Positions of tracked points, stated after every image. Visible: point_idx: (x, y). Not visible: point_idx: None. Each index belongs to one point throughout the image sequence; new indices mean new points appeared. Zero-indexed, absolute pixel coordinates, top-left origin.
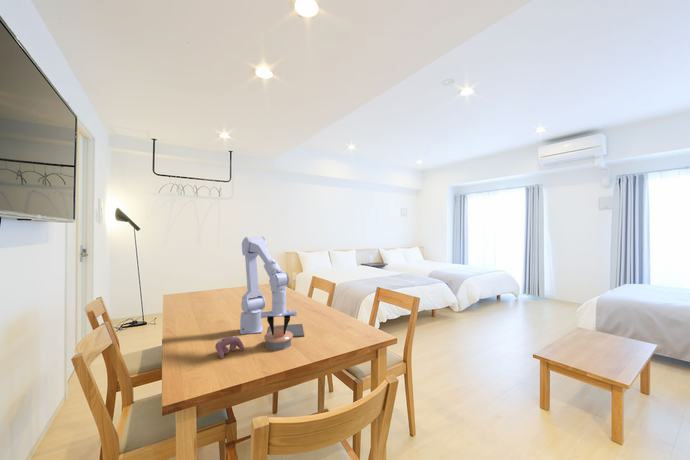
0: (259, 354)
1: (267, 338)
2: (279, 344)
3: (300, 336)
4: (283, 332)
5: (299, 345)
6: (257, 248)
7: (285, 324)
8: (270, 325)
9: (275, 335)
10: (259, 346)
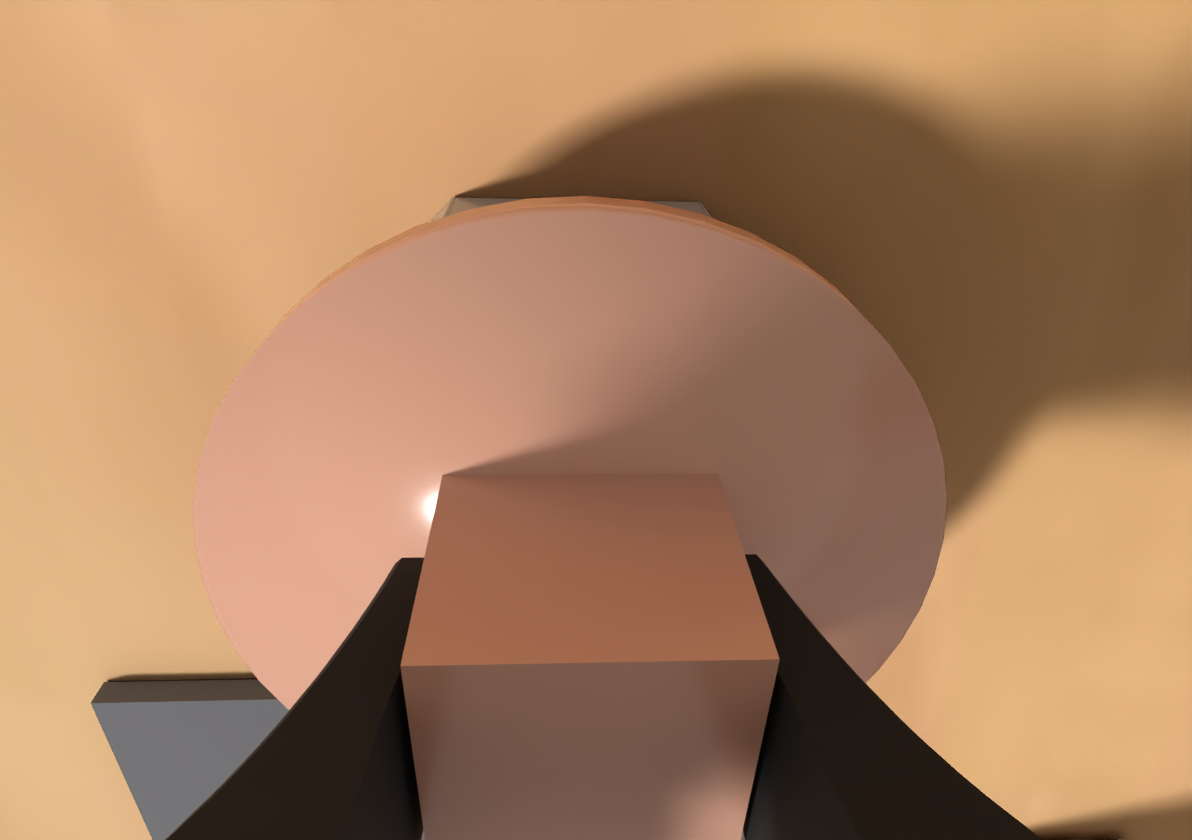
0: (1036, 5)
1: (885, 443)
2: None
3: (172, 686)
4: (428, 560)
5: (100, 330)
6: None
7: (284, 821)
8: (957, 796)
9: (675, 505)
10: (948, 422)
